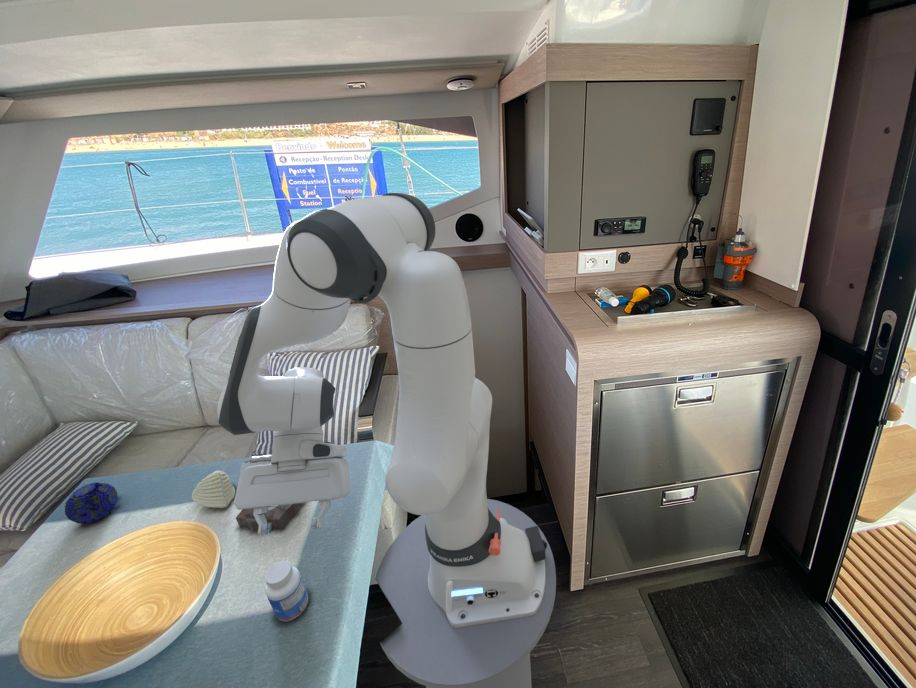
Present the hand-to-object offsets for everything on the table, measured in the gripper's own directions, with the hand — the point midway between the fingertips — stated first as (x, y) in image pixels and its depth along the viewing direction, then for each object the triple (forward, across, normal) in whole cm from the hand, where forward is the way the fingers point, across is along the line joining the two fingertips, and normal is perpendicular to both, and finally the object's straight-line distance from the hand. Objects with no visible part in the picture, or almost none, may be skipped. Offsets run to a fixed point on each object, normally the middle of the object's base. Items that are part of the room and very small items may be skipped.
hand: (290, 531), depth 76 cm
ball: (-6, -53, +22) cm, 58 cm away
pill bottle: (+12, 0, +3) cm, 13 cm away
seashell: (-7, -28, +22) cm, 36 cm away
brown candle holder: (-3, -12, +19) cm, 23 cm away
